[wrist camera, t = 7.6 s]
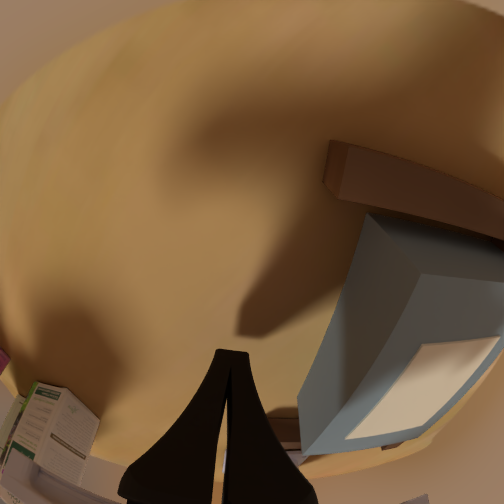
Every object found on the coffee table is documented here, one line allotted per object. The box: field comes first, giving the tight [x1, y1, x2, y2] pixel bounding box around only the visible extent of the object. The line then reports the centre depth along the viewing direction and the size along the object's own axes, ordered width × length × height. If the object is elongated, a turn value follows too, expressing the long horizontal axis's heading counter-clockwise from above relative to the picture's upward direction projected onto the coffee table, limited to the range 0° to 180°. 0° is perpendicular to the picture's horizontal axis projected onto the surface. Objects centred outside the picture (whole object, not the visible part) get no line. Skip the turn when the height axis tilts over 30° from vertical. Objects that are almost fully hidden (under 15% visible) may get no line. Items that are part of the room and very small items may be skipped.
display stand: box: [268, 140, 504, 450], centre depth 11 cm, size 19×12×3 cm, turn 173°
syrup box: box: [0, 381, 100, 504], centre depth 12 cm, size 6×6×14 cm
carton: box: [297, 212, 504, 455], centre depth 11 cm, size 12×8×5 cm, turn 173°
